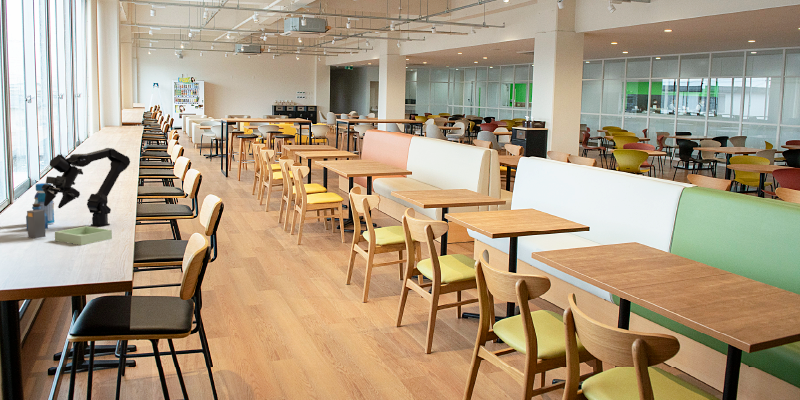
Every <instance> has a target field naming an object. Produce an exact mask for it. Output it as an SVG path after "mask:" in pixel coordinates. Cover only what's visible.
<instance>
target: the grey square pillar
mask: <svg viewBox="0 0 800 400" xmlns="http://www.w3.org/2000/svg"><path fill="white" fill-rule="evenodd" d="M26 216H27V222H28V229H27V237H28V239H29V238H31V239H39V238H40V239H41V238H45V237H46V229H45V212H44V210H33V209H32V210H27V211H26Z"/></svg>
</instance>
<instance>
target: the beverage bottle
mask: <svg viewBox="0 0 800 400" xmlns="http://www.w3.org/2000/svg"><path fill="white" fill-rule="evenodd" d="M44 184H49V185H52V184H50V183H46V182H45V183H36V184H35V191H36V193H35V195H34V198H33V199H34V203H33V204H40V206H41V209H40V210H44V212H45V213H46V215H47V218H48V226H49V225H54V224H55V211H54V205H55V202H54V199H53V200H52V201H51V202H50V203H49V204H48V205H47V206H44V201H45V192H44V191H43V189H42V186H43V185H44Z"/></svg>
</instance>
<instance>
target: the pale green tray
mask: <svg viewBox="0 0 800 400" xmlns="http://www.w3.org/2000/svg"><path fill="white" fill-rule="evenodd" d="M112 239H113V232H112V229H107V228H101V227H96V226H79V227H74V228H68V229H63V230H58V231H57V230H56V231H54V241H55V242H60V243H66V242H68V243H67V244H71V243H73V244H74V245H77V244H78V245H79V246H83V245H89V244H93V243H97V242H102V241H107V240H112ZM73 244H72V245H73ZM78 245H77V246H78Z"/></svg>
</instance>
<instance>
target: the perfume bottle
mask: <svg viewBox="0 0 800 400" xmlns="http://www.w3.org/2000/svg"><path fill="white" fill-rule="evenodd" d="M31 209H32V210H40V209H41V206H40V204H34V203H32V207H31ZM25 218H26V219H25V223H26V224H25V226H26V230H28V222H27V215H26V216H25ZM46 229H49V225H48V218H47V215H46V213H45V230H46Z"/></svg>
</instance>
